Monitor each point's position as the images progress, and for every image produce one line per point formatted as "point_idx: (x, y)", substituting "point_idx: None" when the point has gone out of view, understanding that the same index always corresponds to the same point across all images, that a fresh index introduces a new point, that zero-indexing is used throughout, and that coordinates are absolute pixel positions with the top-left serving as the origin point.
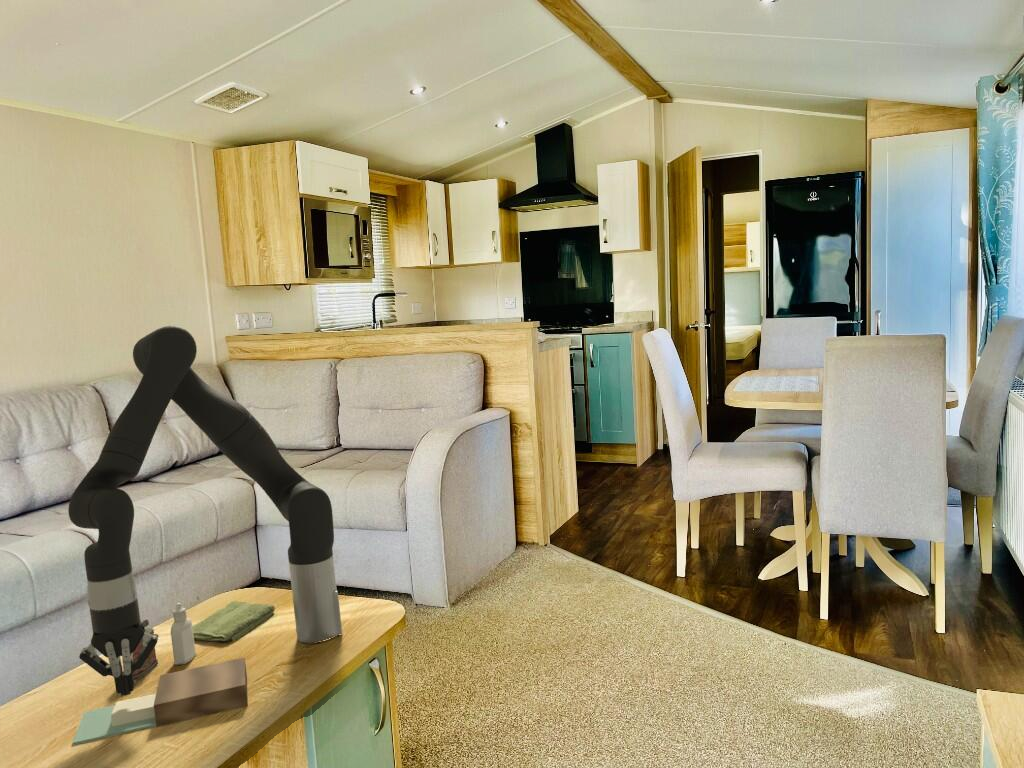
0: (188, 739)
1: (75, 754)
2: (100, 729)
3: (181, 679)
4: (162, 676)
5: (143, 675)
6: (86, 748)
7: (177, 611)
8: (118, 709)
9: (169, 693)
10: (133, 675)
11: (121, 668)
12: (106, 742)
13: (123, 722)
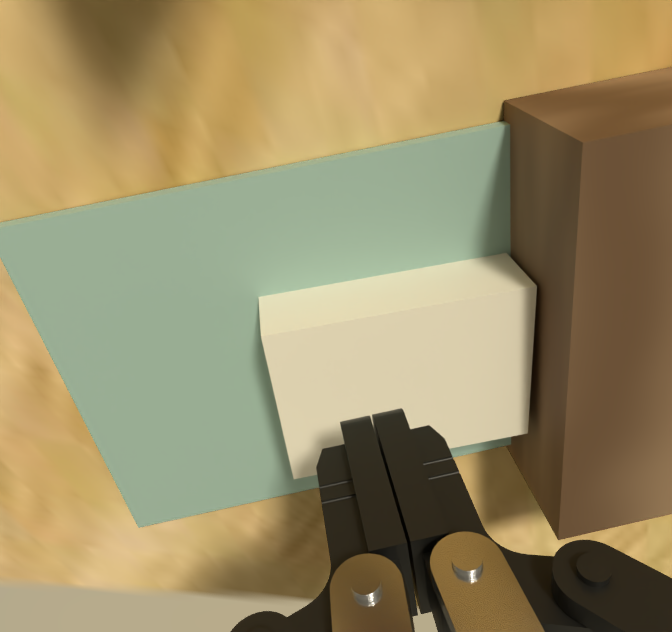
0: (633, 536)
1: (197, 570)
2: (232, 446)
3: None
4: (601, 175)
5: None
6: (227, 541)
7: None
8: (316, 428)
9: (643, 444)
10: (470, 501)
11: (412, 626)
12: (303, 515)
13: None
